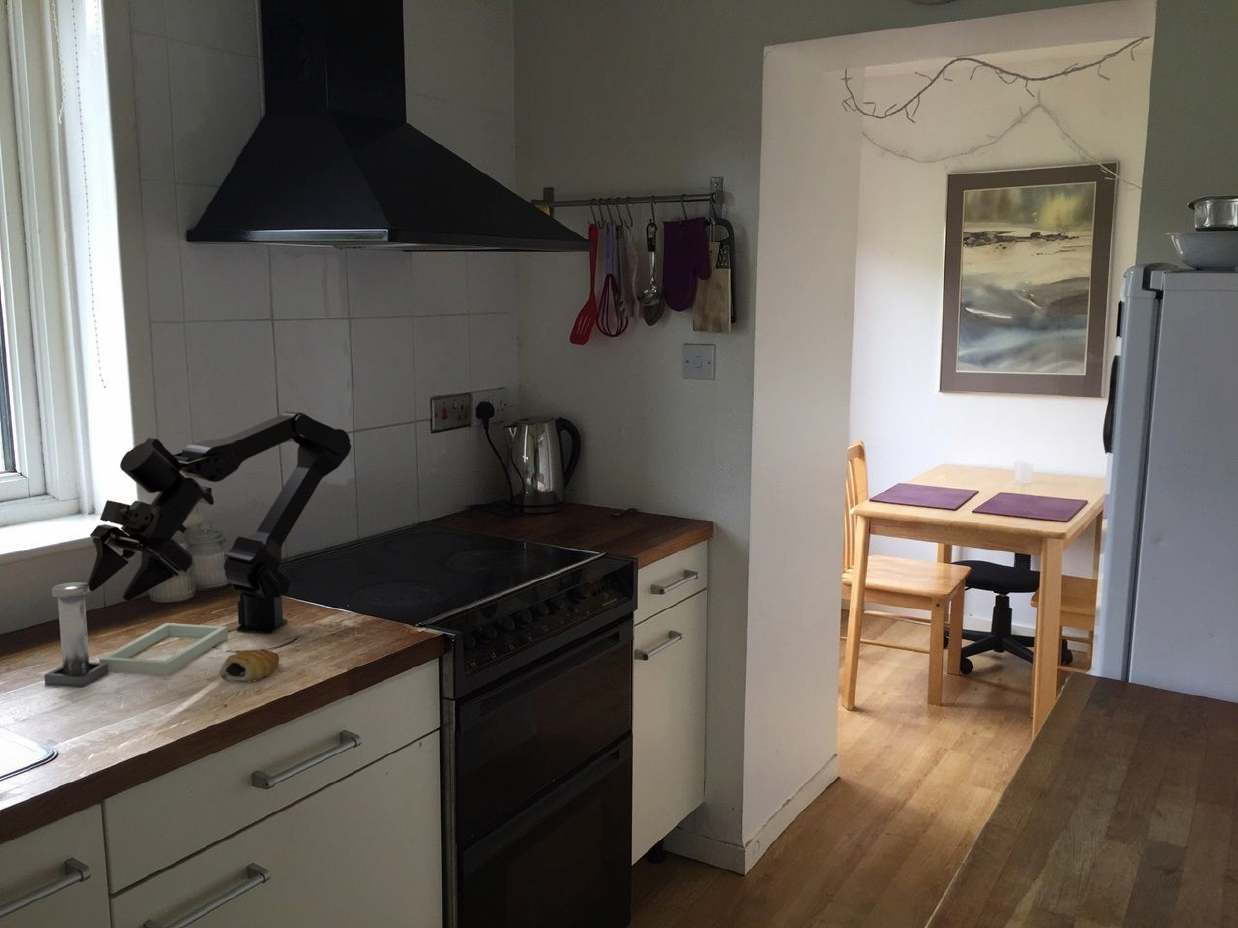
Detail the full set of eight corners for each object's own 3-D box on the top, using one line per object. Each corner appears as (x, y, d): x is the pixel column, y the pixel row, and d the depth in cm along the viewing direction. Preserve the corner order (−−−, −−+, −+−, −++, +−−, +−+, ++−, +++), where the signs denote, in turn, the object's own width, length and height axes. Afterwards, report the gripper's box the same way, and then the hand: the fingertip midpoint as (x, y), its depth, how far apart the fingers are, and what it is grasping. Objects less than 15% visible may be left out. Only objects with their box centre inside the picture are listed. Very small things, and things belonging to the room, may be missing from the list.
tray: (228, 641, 181) (227, 626, 181) (168, 679, 163) (167, 663, 163) (166, 637, 183) (165, 622, 182) (100, 674, 165) (99, 658, 165)
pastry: (254, 660, 173) (253, 637, 172) (291, 665, 171) (290, 642, 170) (215, 680, 164) (214, 656, 163) (254, 686, 162) (253, 661, 161)
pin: (102, 673, 163) (95, 583, 161) (81, 685, 158) (75, 591, 156) (72, 671, 164) (66, 581, 162) (51, 683, 159) (44, 590, 157)
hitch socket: (108, 677, 164) (107, 663, 163) (83, 692, 158) (82, 677, 157) (71, 675, 165) (70, 660, 164) (45, 689, 159) (44, 674, 158)
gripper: (98, 473, 171) (32, 555, 163) (171, 486, 160) (104, 575, 153) (147, 514, 178) (86, 595, 171) (219, 530, 168) (158, 616, 161)
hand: (107, 594), depth 164 cm, fingers open, 9 cm apart
